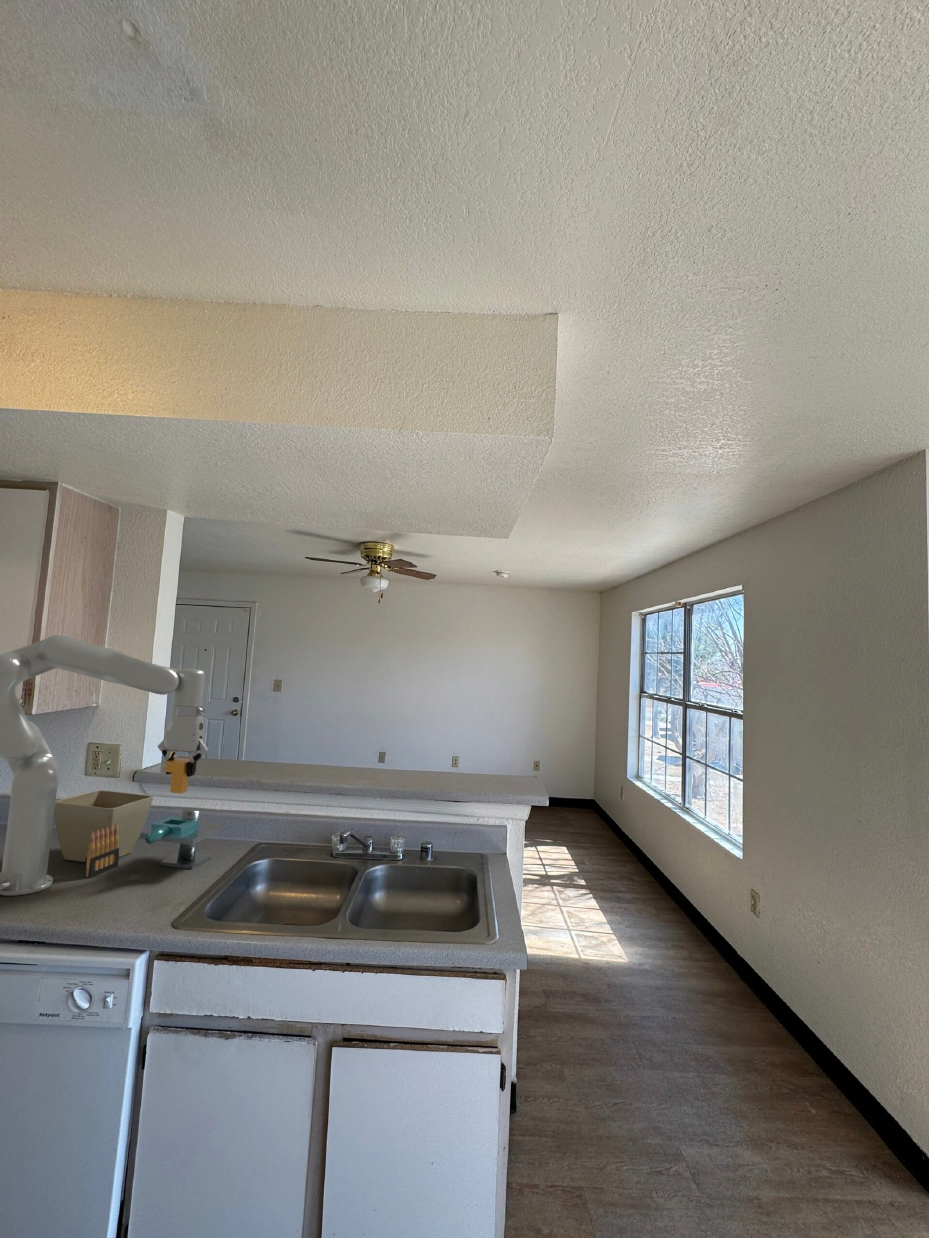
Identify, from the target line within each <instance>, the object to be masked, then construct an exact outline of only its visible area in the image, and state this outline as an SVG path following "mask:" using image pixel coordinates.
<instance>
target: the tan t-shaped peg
mask: <svg viewBox="0 0 929 1238" xmlns="http://www.w3.org/2000/svg"><path fill="white" fill-rule="evenodd" d="M189 762H190V760H189V758H186V757H184V758H183V757H177V758H174V759H172V760H168V761H167V760H165V768H164V773H166V772H172V774H171V781H170V788H169V789H170V791H169V793H173V794H185V793H187V790H188V786H189V785H188V784H189V783H188V782H189V777H187V776H186V773H187V766H188V763H189ZM197 764H198V763H197ZM197 764H196V768H197Z"/></svg>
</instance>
